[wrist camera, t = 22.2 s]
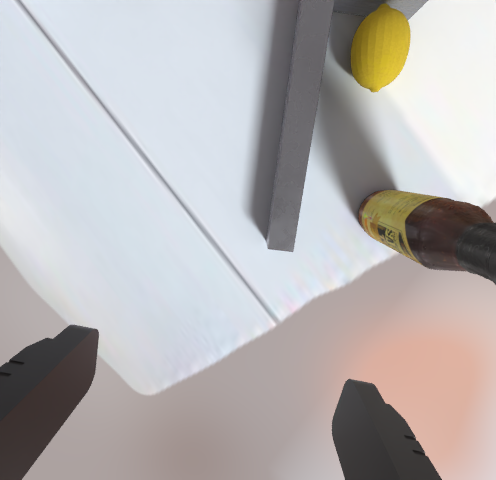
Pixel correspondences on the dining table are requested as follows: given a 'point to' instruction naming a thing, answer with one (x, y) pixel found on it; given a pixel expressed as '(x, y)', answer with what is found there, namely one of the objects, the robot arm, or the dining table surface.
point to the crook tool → (308, 107)
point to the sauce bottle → (432, 231)
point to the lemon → (380, 48)
